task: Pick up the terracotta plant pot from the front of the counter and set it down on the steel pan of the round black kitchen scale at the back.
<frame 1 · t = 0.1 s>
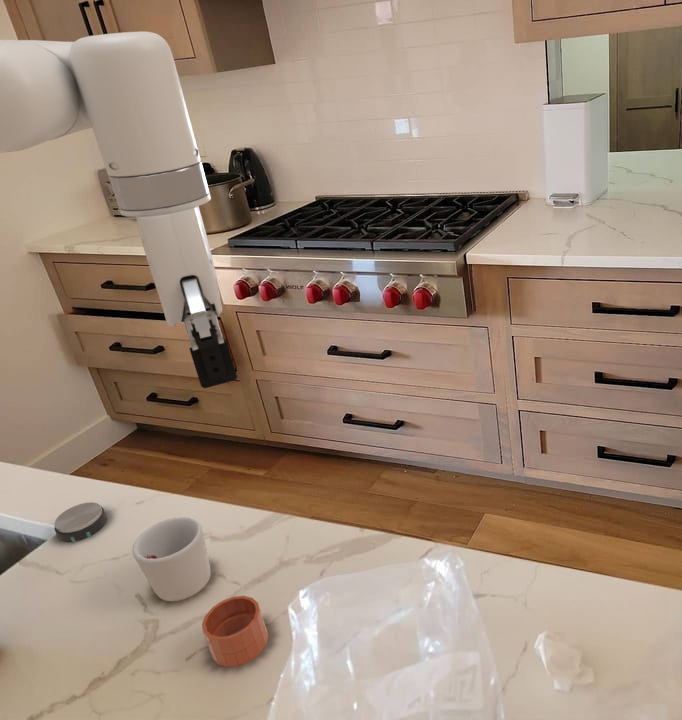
hand: (213, 363, 67), 33 cm above the countertop, tool pointing down, fingers open, 9 cm apart
terracotta plant pot: (242, 649, 76), on the countertop
cup: (185, 580, 87), on the countertop
scale: (84, 531, 98), on the countertop
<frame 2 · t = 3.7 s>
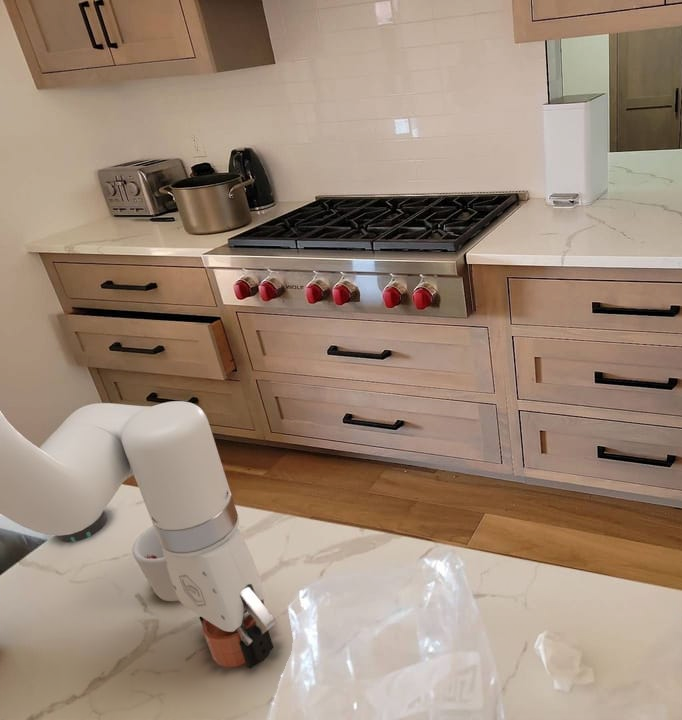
hand: (240, 645, 76), 1 cm above the countertop, tool pointing down, fingers closed on terracotta plant pot, 6 cm apart
terracotta plant pot: (242, 649, 76), on the countertop, touching gripper
everything else where it was.
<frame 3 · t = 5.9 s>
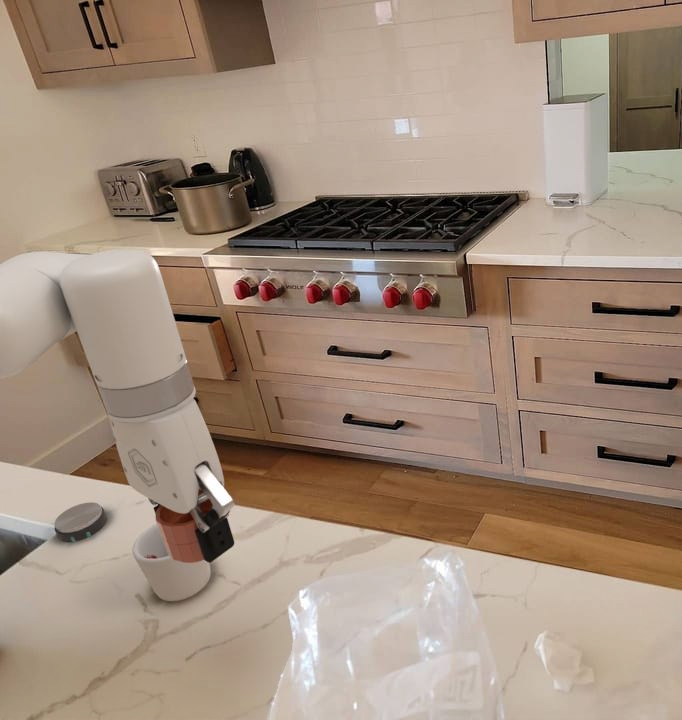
hand: (198, 540, 69), 16 cm above the countertop, tool pointing down, fingers closed on terracotta plant pot, 6 cm apart
terracotta plant pot: (200, 544, 70), point 15 cm above the countertop, touching gripper
everything else where it was.
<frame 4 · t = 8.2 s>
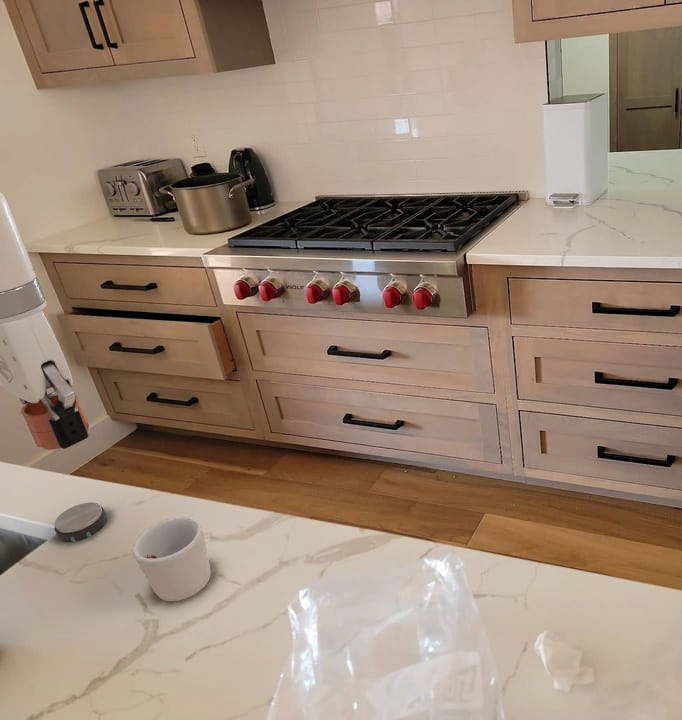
hand: (61, 434, 84), 19 cm above the countertop, tool pointing down, fingers closed on terracotta plant pot, 6 cm apart
terracotta plant pot: (63, 438, 85), point 19 cm above the countertop, touching gripper
everything else where it was.
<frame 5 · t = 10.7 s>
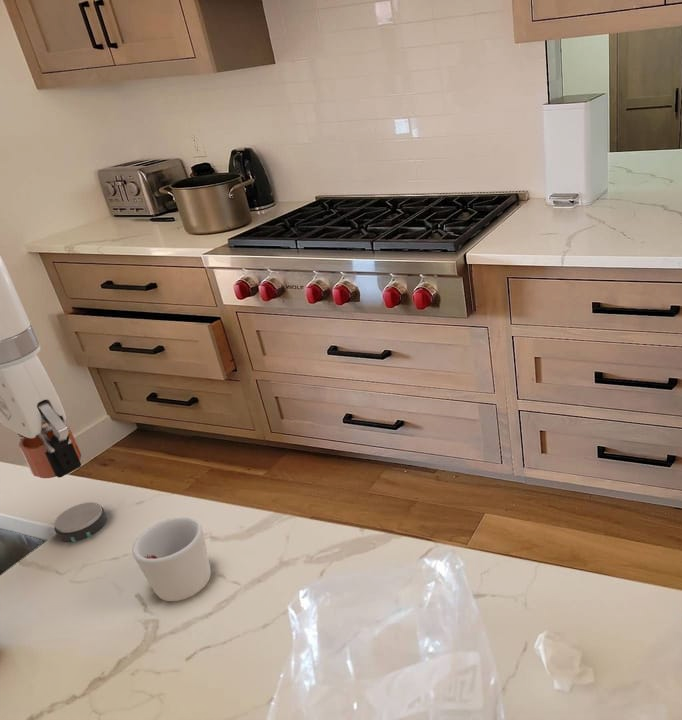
hand: (56, 463, 93), 12 cm above the countertop, tool pointing down, fingers closed on terracotta plant pot, 6 cm apart
terracotta plant pot: (58, 466, 93), point 11 cm above the countertop, touching gripper
everything else where it was.
when the fingers open (3 cm above the countertop, at t = 13.1 s): terracotta plant pot stays where it is, resting on scale.
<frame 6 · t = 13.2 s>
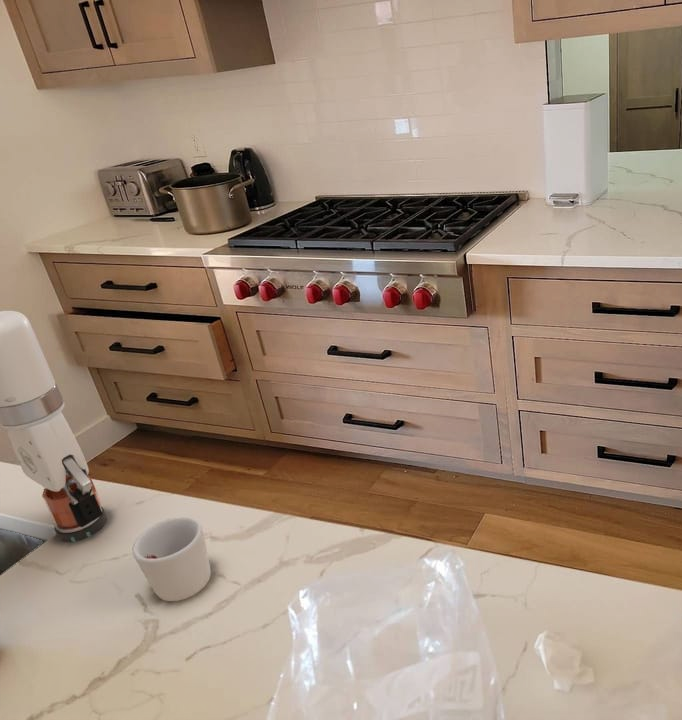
hand: (77, 512, 96), 3 cm above the countertop, tool pointing down, fingers open, 6 cm apart
terracotta plant pot: (79, 514, 97), point 3 cm above the countertop, touching scale
everything else where it was.
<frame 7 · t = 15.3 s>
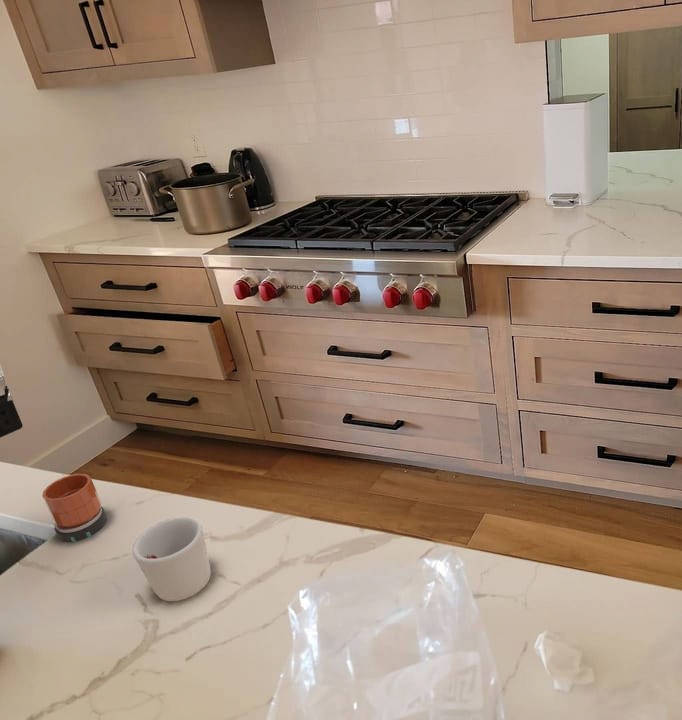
nothing on the countertop moved.
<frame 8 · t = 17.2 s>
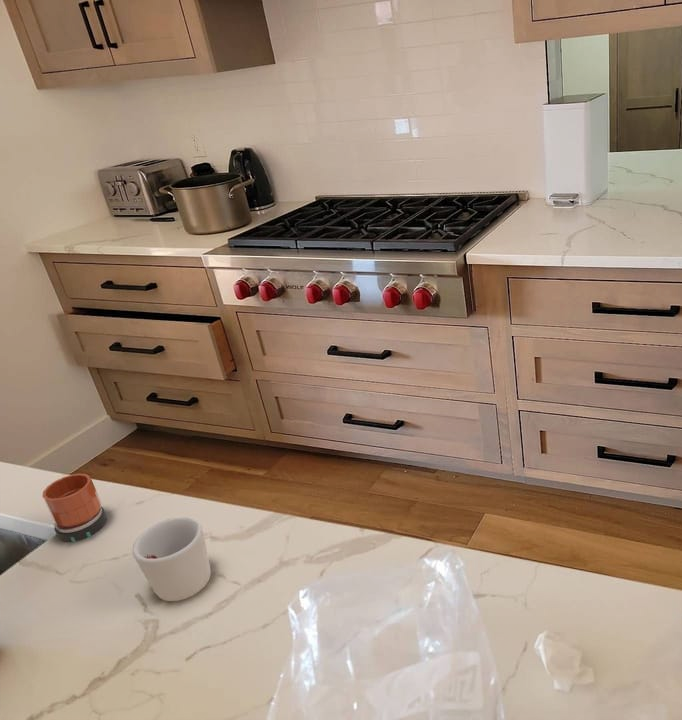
nothing on the countertop moved.
at the end: terracotta plant pot 0.2 cm off-centre on the scale, point 2.8 cm above the scale's base; terracotta plant pot tilted 0°; the gripper is holding nothing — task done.
